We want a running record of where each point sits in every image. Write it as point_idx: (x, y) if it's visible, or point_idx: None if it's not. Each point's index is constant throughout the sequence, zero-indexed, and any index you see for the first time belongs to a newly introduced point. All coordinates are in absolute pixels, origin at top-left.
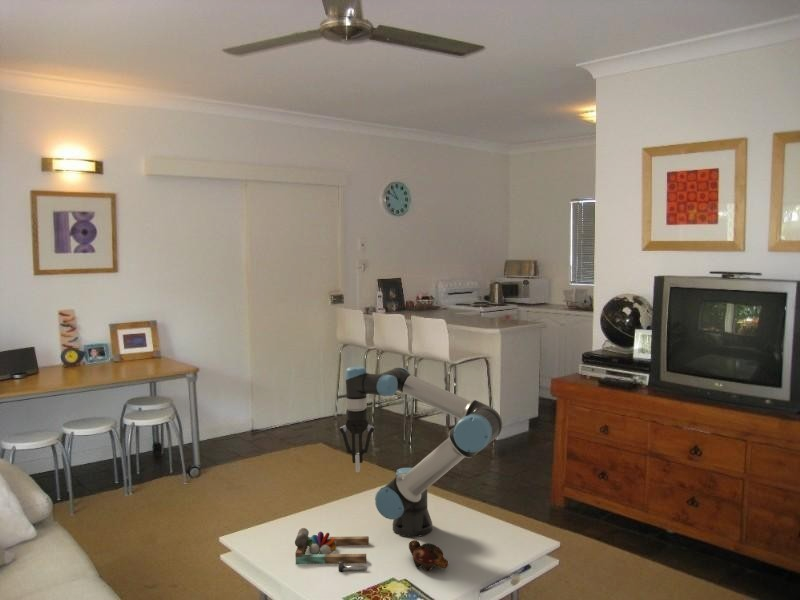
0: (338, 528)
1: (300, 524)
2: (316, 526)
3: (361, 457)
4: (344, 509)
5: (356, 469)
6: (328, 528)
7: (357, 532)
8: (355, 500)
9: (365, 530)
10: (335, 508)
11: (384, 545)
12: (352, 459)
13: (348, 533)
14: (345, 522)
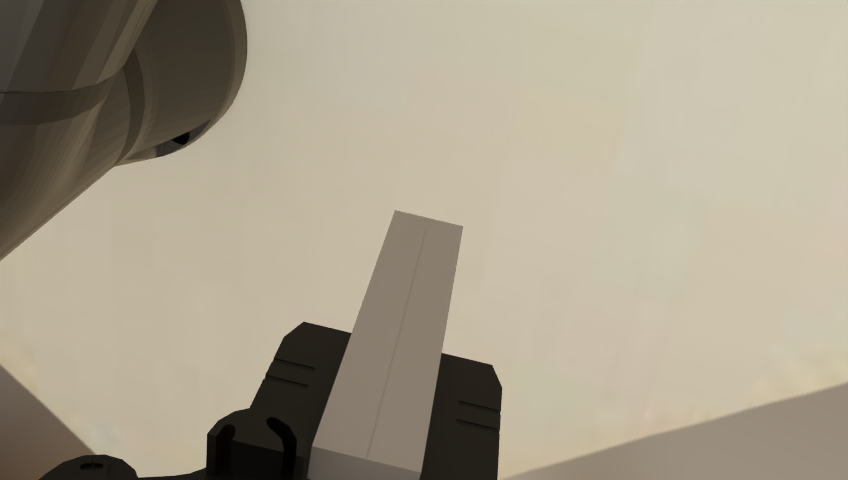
0: (599, 154)
1: (824, 274)
2: (733, 220)
3: (278, 407)
4: (506, 386)
5: (441, 251)
6: (664, 171)
7: (487, 59)
8: None
9: (428, 77)
10: (553, 410)
11: None
12: (496, 425)
13: (551, 59)
14: (535, 227)
